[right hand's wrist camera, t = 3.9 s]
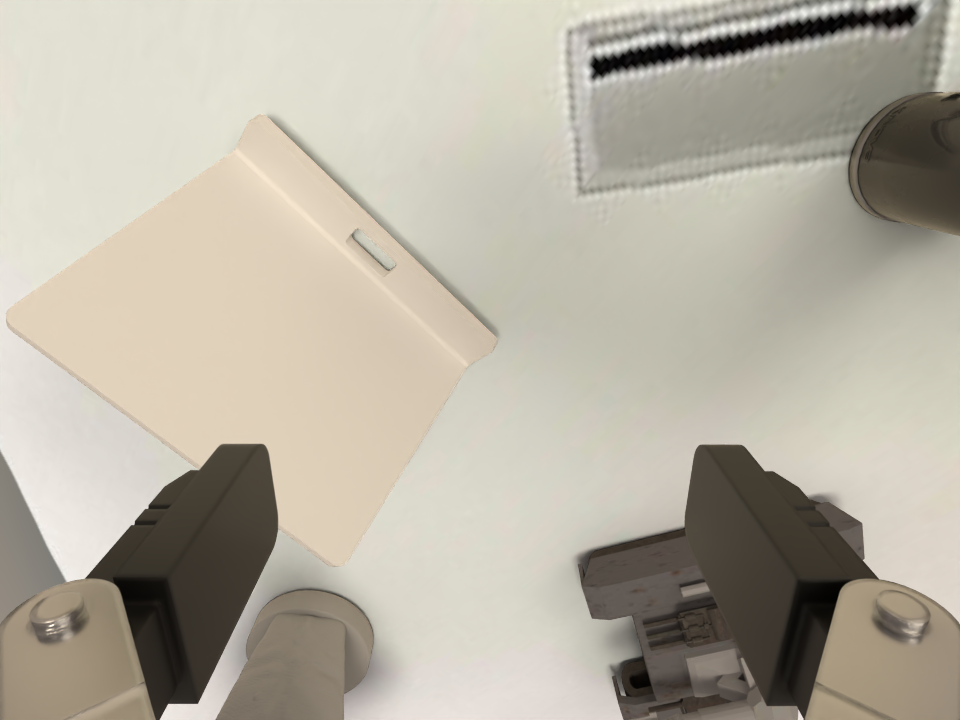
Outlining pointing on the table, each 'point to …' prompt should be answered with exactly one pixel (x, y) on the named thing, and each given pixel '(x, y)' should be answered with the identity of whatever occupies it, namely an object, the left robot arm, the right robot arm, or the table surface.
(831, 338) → the table surface
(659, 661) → the toy
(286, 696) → the bust sculpture
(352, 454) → the tablet stand
